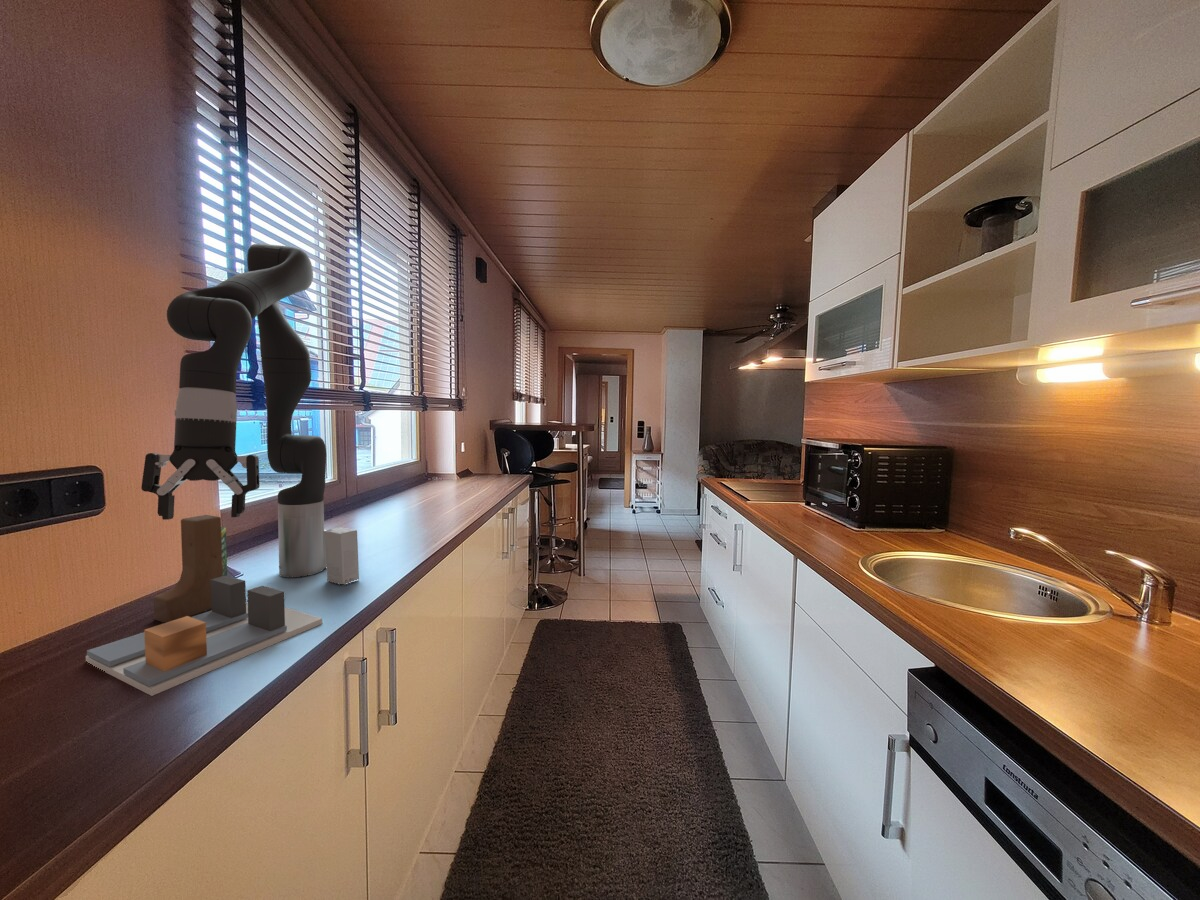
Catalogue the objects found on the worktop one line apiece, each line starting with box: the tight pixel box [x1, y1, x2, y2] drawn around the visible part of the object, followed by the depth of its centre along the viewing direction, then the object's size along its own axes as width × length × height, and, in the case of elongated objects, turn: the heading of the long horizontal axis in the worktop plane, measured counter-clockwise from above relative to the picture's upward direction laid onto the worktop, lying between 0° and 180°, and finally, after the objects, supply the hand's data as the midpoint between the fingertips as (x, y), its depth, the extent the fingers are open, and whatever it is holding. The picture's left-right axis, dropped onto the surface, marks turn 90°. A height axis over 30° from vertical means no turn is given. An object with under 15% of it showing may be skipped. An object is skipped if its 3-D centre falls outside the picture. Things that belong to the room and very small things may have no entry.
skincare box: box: [325, 526, 360, 585], centre depth 103 cm, size 6×4×12 cm
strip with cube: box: [123, 585, 287, 687], centre depth 70 cm, size 18×7×7 cm, turn 157°
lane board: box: [85, 602, 323, 697], centre depth 75 cm, size 24×19×1 cm
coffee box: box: [221, 526, 228, 576], centre depth 95 cm, size 8×3×13 cm, turn 28°
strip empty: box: [86, 575, 248, 667], centre depth 74 cm, size 18×7×7 cm, turn 157°
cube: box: [143, 616, 207, 671], centre depth 66 cm, size 5×5×5 cm
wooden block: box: [152, 514, 223, 624], centre depth 85 cm, size 9×4×18 cm, turn 160°
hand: (202, 518), depth 73 cm, fingers open, 8 cm apart
